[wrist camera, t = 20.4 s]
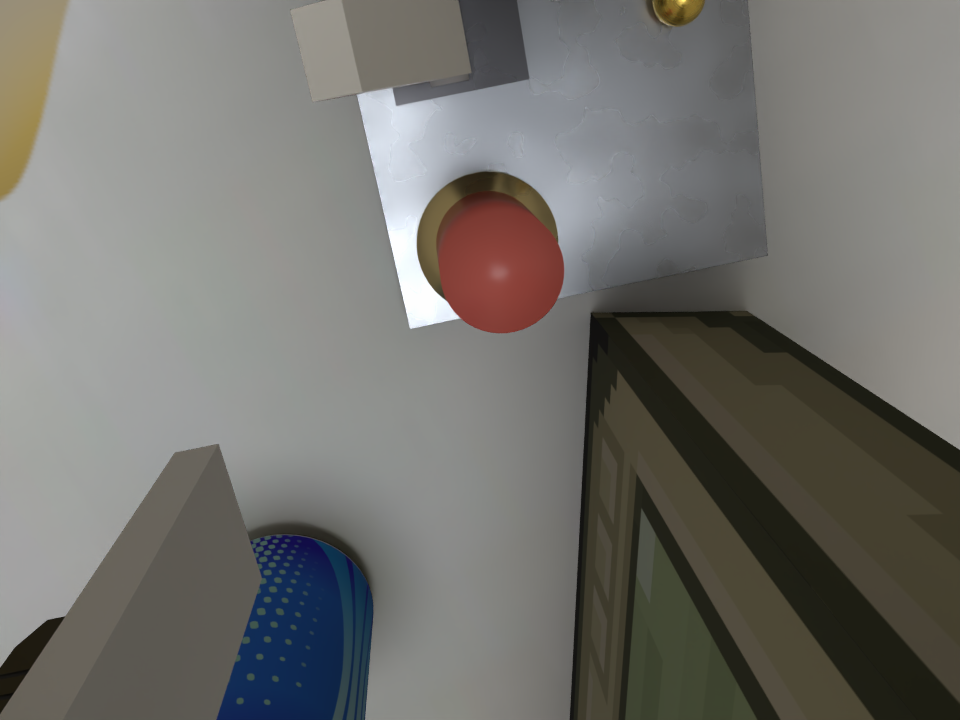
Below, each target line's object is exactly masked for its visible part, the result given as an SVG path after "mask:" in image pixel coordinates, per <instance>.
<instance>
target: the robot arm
mask: <svg viewBox="0 0 960 720" xmlns="http://www.w3.org/2000/svg"><path fill="white" fill-rule="evenodd" d="M261 580H262V577H261V574H260V570H259V567H258V564H257V561H256V558H255V555H254V552H253V549H252V546H251V543H250V540H249V537H248V533H247V530H246V527H245V524H244V521H243V518H242V515H241V512H240V509H239V506H238V503H237V500H236V496H235V493H234V490H233V487H232V484H231V481H230V478H229V475H228V472H227V469H226V466H225V463H224V459H223V456H222V453H221V450H220V447H219V444H216V445H211V446H206V447H201V448H196V449H191V450H186V451H181V452H176V453H174V455H173V456H172V458H171V459H170V461H169V462H168V464H167V465H166V467H165V468H164V470H163V471H162V473H161V474H160V476H159V477H158V479H157V480H156V482H155V483H154V485H153V486H152V488H151V489H150V491H149V492H148V494H147V495H146V497H145V498H144V500H143V501H142V503H141V504H140V506H139V507H138V509H137V510H136V512H135V513H134V515H133V516H132V518H131V519H130V521H129V522H128V524H127V525H126V527H125V528H124V530H123V531H122V533H121V534H120V536H119V537H118V539H117V540H116V542H115V543H114V545H113V546H112V548H111V549H110V551H109V552H108V554H107V555H106V556H105V558H104V559H103V561H102V562H101V564H100V565H99V567H98V568H97V570H96V571H95V573H94V574H93V576H92V577H91V579H90V580H89V582H88V583H87V585H86V586H85V588H84V589H83V591H82V592H81V594H80V595H79V597H78V598H77V600H76V601H75V603H74V604H73V606H72V607H71V609H70V610H69V612H68V613H67V615H66V616H65V617H60V618H55V619H50V620H47V621H46V622H44V623H43V624H42V625H41V626H40V627H39V628H37V629H36V630H35V631H34V632H33V633H31V634H30V635H29V636H28V637H27V638H26V639H24V640H23V641H22V642H21V643H20V644H18V645H17V646H16V647H15V648H14V649H13V651H12V652H11V654H10V655H9V656H8V658H7V659H6V661H5V662H4V663H3V665H2V666H1V668H0V720H216V719H217V716H218V713H219V710H220V707H221V704H222V701H223V697H224V694H225V691H226V688H227V685H228V682H229V679H230V676H231V673H232V670H233V666H234V663H235V660H236V657H237V654H238V651H239V648H240V645H241V642H242V639H243V636H244V632H245V629H246V626H247V623H248V620H249V617H250V614H251V611H252V608H253V605H254V601H255V598H256V595H257V592H258V589H259V586H260V583H261Z"/></svg>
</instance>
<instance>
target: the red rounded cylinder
mask: <svg viewBox="0 0 960 720" xmlns="http://www.w3.org/2000/svg"><path fill="white" fill-rule="evenodd" d="M436 249H437V257H438V264H439V271H440V279H441V286H442V289H443V293H444V295H445V298H446V300H447V302H448V303H449V305H450V307H451V308H452V309H453V311H454V312H455V313H456V314H457V315H458V316H459V317H460V318H461V319H462V320H463V321H465V322H466V323H468V324H469V325H471V326H473V327H475V328H477V329H480V330H483V331H487V332H492V333H510V332H515V331H519V330H522V329H525V328H527V327H529V326H531V325H533V324H534V323H536V322H537V321H539V320H540V319H541V318H543V317H544V316H545V315H546V314H547V313H548V312H549V310H550V309H551V308H552V307H553V305H554V304H555V302H556V300H557V299H558V296H559V294H560V292H561V289H562V285H563V280H564V260H563V256H562V252H561V249H560V247H559V244H558V243H557V241H556V239H555V237H554V236H553V235H552V233H551V232H550V231H549V230H548V229H547V228H546V227H545V226H544V225H543V224H542V223H541V222H540V221H539V220H538V219H537V218H536V217H535V216H534V214H533V213H532V212H531V211H530V210H529V209H528V208H527V207H526V206H525V205H524V204H523V203H521V202H520V201H519V200H517V199H516V198H514V197H512V196H510V195H508V194H505V193H501V192H496V191H482V192H477V193H473V194H470V195H468V196H465V197H464V198H462V199H460V200H459V201H457V202H456V203H455V204H454V205H453V206H452V207H451V208H450V209H449V210H448V211H447V213H446V214H445V215H444V217H443V219H442V221H441V223H440V225H439V228H438V232H437V238H436Z"/></svg>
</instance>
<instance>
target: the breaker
mask: <svg viewBox="0 0 960 720" xmlns="http://www.w3.org/2000/svg"><path fill="white" fill-rule="evenodd" d="M290 12H291V16H292V20H293V24H294V28H295V32H296V36H297V40H298V45H299V49H300V53H301V57H302V61H303V65H304V69H305V73H306V77H307V81H308V85H309V90H310V94H311V98H312V102H317V101H323V100H328V99H334V98H340V97H345V96H351V95H357V94H362V93H368V92H374V91H379V90H385V89H391V88H396V87H402V86H408V85H413V84H419V83H425V82H430V86H431V87H435V86H440V85H445V84H450V83H455V82H460V81H465V80H469V73H472V72H471V67H470V61H469V56H468V50H467V45H466V39H465V34H464V28H463V23H462V17H461V12H460V6H459V1H458V0H325V1H321V2H318V3H314V4H310V5H306V6H303V7H299V8H295V9H291V10H290Z"/></svg>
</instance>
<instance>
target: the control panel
mask: <svg viewBox="0 0 960 720" xmlns="http://www.w3.org/2000/svg"><path fill="white" fill-rule="evenodd" d="M570 720H960V450H959V449H957V448H956V447H954V446H953V445H951V444H950V443H948V442H947V441H945V440H944V439H942V438H940V437H939V436H937V435H936V434H934V433H933V432H931V431H930V430H928V429H927V428H925V427H924V426H922V425H921V424H919V423H918V422H916V421H914V420H913V419H911V418H910V417H908V416H907V415H905V414H904V413H902V412H901V411H899V410H898V409H896V408H895V407H893V406H892V405H890V404H888V403H887V402H885V401H884V400H882V399H881V398H879V397H878V396H876V395H875V394H873V393H872V392H870V391H869V390H867V389H866V388H864V387H862V386H861V385H859V384H858V383H856V382H855V381H853V380H852V379H850V378H849V377H847V376H846V375H844V374H843V373H841V372H840V371H838V370H836V369H835V368H833V367H832V366H830V365H829V364H827V363H826V362H824V361H823V360H821V359H820V358H818V357H817V356H815V355H814V354H812V353H810V352H809V351H807V350H806V349H804V348H803V347H801V346H800V345H798V344H797V343H795V342H794V341H792V340H791V339H789V338H788V337H786V336H784V335H783V334H781V333H780V332H778V331H777V330H775V329H774V328H772V327H771V326H769V325H768V324H766V323H765V322H763V321H762V320H760V319H758V318H757V317H755V316H754V315H752V314H751V313H749V312H748V311H701V312H609V313H591V319H590V339H589V358H588V378H587V397H586V416H585V436H584V455H583V475H582V494H581V513H580V533H579V552H578V572H577V591H576V610H575V630H574V649H573V669H572V688H571V707H570Z"/></svg>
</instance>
